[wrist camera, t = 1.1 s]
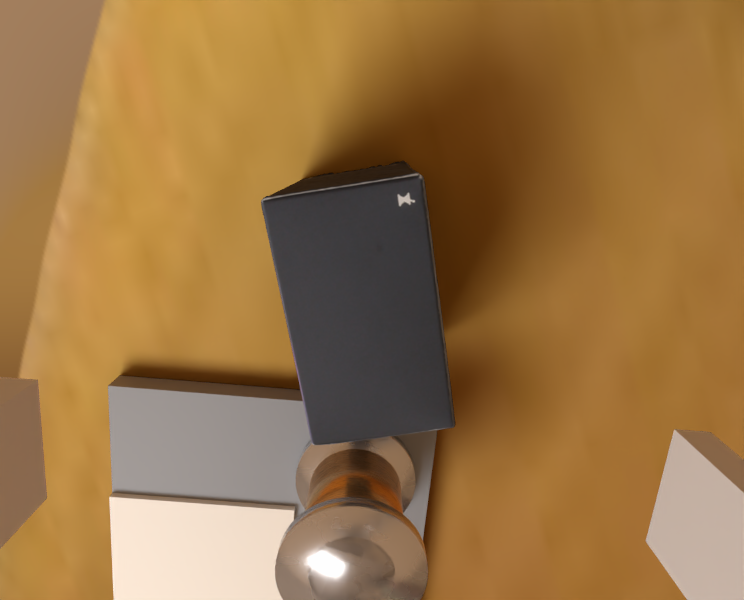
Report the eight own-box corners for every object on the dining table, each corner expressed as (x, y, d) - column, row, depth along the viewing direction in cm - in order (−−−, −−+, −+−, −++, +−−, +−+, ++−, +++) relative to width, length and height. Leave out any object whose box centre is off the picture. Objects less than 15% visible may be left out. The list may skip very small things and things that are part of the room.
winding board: (436, 400, 33) (440, 415, 31) (396, 705, 40) (398, 732, 38) (119, 375, 33) (104, 388, 31) (130, 688, 39) (118, 715, 37)
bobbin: (420, 426, 32) (436, 513, 24) (407, 528, 34) (419, 640, 26) (300, 416, 32) (278, 502, 24) (294, 520, 34) (271, 630, 26)
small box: (290, 178, 30) (249, 193, 20) (409, 159, 30) (429, 164, 20) (325, 358, 33) (305, 453, 23) (434, 342, 32) (464, 430, 22)
